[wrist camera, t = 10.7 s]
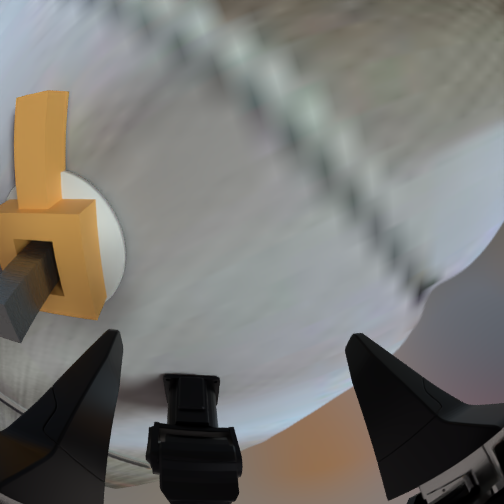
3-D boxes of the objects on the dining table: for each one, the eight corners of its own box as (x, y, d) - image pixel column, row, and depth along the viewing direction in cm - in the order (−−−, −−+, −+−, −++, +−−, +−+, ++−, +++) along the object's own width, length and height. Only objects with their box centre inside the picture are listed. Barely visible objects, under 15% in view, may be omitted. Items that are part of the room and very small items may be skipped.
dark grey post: (68, 266, 19) (20, 343, 11) (47, 263, 18) (-4, 335, 10) (63, 233, 17) (3, 304, 10) (41, 231, 17) (-21, 297, 9)
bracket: (132, 312, 23) (124, 342, 19) (24, 297, 20) (8, 320, 17) (131, 86, 14) (112, 80, 11) (-2, 107, 12) (-30, 112, 8)
